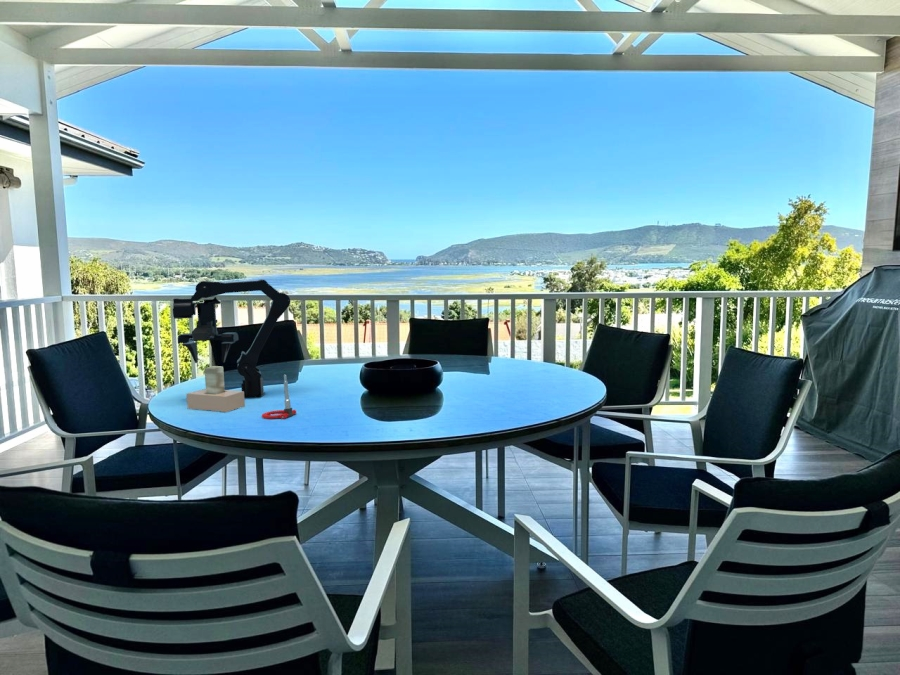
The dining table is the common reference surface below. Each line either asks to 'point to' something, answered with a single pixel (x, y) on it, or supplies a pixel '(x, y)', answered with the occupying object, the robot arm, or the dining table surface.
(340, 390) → the dining table surface
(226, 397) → the flat beige box
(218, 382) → the birch bar
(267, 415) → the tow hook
